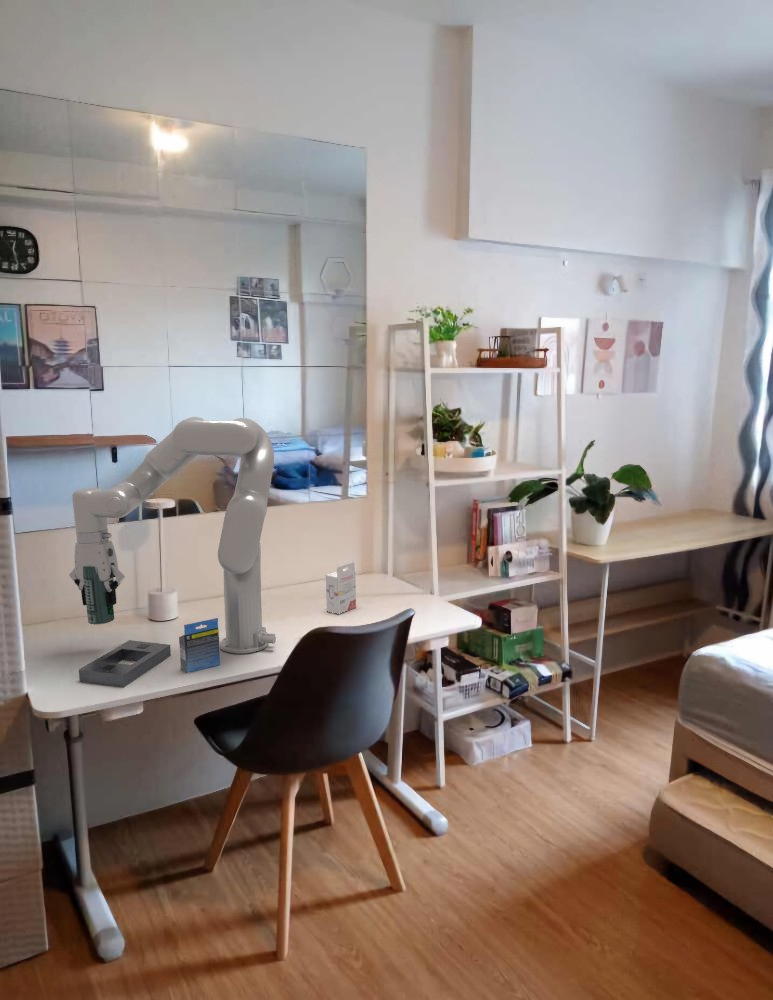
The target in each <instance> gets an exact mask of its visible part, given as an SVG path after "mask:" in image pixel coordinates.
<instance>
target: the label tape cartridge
mask: <svg viewBox="0 0 773 1000" xmlns="http://www.w3.org/2000/svg"><path fill="white" fill-rule="evenodd" d="M218 621H219V618H218V617H216V618H211V619H206V620H201V621H198V622H193V623H188V624H187V623H186V624H184V625H183V627H184V628H183V629H184V631H183V632H184V634H183V635H181V636H179V637H178V641H179V643H178V644H179V658H180V659H179V661H180V662H179V663H180V669H181V671H183V672H184V673H185V674H190V673H194V672H197V671H200V670H201V671H202V670H205V669H207V668H212V667H213V668H214V667H216V666H220V665H221V652H220V650H221V648H220V635H219V622H218ZM201 625H202V626H206V627H202V628H199V627H200V626H201ZM197 627H198V628H197Z"/></svg>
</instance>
